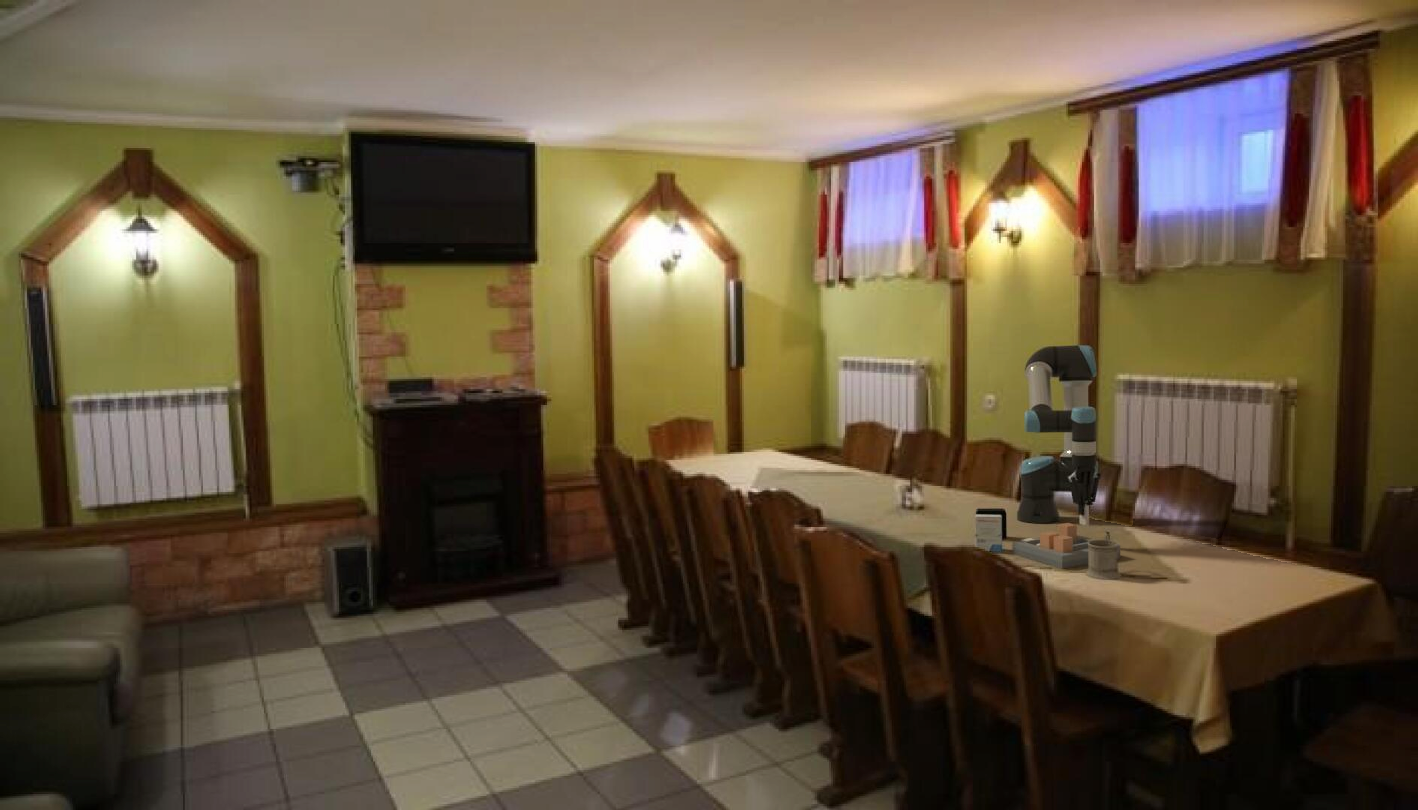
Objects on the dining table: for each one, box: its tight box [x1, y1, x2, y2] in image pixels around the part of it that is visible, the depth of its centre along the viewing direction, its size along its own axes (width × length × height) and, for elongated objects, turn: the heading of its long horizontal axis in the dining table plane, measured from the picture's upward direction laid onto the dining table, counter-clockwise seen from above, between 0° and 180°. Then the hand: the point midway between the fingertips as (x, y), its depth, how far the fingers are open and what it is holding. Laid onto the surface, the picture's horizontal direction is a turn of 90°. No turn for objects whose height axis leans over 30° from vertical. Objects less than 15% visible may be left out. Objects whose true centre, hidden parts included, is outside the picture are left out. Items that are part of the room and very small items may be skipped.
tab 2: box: [1057, 522, 1078, 539], centre depth 325 cm, size 4×4×6 cm
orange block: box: [1054, 535, 1073, 553], centre depth 309 cm, size 4×4×6 cm
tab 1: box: [1039, 531, 1059, 549], centre depth 314 cm, size 4×4×6 cm
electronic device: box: [975, 507, 1008, 540], centre depth 345 cm, size 4×10×10 cm, turn 78°
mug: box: [1085, 529, 1122, 581], centre depth 296 cm, size 14×10×12 cm
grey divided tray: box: [1011, 534, 1121, 570], centre depth 317 cm, size 24×22×4 cm
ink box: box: [974, 513, 1003, 553], centre depth 328 cm, size 9×5×12 cm, turn 71°
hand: (1084, 524), depth 328 cm, fingers closed
